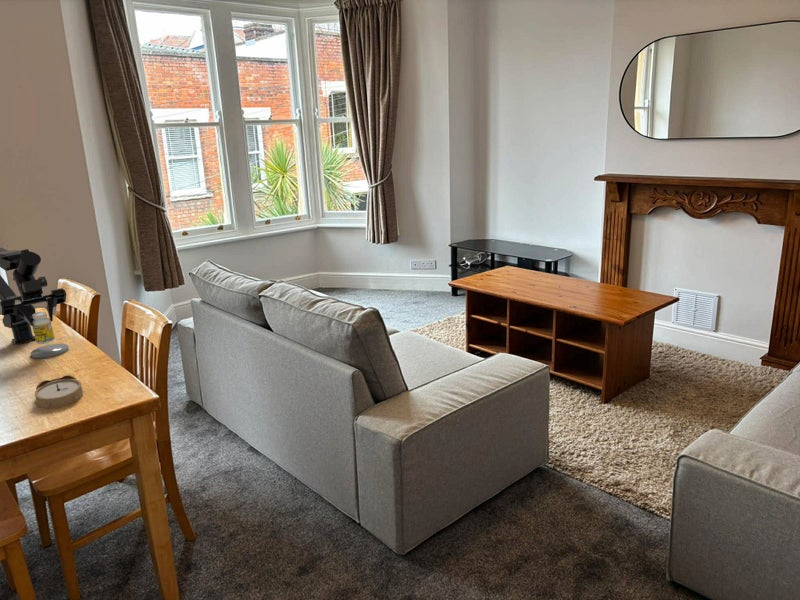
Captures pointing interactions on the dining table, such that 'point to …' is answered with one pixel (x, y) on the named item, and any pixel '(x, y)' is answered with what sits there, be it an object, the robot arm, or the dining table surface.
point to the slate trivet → (49, 351)
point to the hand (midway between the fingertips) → (42, 323)
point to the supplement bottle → (42, 328)
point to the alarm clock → (58, 392)
